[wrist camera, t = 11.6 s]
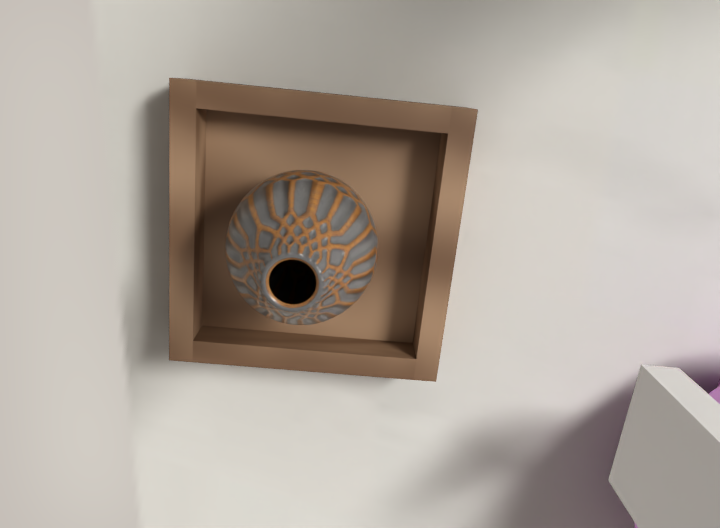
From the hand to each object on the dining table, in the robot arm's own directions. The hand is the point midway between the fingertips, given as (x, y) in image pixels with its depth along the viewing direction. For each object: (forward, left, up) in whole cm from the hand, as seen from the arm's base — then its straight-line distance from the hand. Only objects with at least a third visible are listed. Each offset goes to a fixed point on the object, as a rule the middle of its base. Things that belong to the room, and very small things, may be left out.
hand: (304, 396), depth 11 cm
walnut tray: (+2, -1, -20) cm, 20 cm away
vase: (+1, -1, -19) cm, 19 cm away
